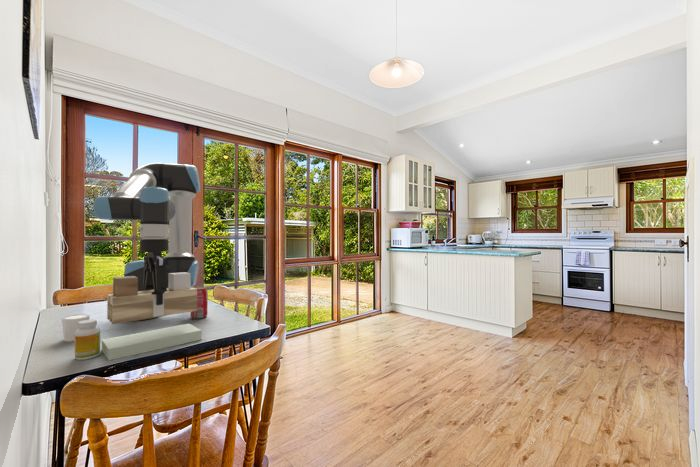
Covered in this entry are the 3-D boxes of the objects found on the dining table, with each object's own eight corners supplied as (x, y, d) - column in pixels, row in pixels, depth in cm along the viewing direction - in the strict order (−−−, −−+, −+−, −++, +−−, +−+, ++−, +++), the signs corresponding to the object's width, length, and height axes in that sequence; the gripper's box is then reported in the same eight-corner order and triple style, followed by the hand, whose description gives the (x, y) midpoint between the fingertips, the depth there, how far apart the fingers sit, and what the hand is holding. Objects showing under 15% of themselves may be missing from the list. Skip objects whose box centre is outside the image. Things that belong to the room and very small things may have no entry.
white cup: (93, 337, 105) (93, 315, 105) (66, 343, 99) (66, 320, 99) (84, 333, 108) (84, 313, 108) (57, 339, 102) (58, 317, 102)
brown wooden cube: (113, 294, 93) (113, 277, 93) (133, 292, 96) (133, 275, 96) (116, 297, 89) (116, 279, 89) (137, 294, 93) (137, 277, 93)
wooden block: (107, 318, 93) (107, 294, 93) (187, 306, 109) (188, 286, 109) (112, 324, 87) (112, 298, 87) (196, 310, 103) (197, 288, 103)
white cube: (168, 288, 103) (168, 273, 103) (185, 287, 107) (185, 272, 107) (173, 290, 100) (173, 274, 100) (190, 288, 103) (190, 273, 103)
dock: (101, 350, 93) (101, 339, 93) (189, 332, 110) (189, 323, 110) (108, 360, 86) (108, 349, 86) (201, 339, 103) (201, 330, 103)
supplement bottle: (101, 356, 88) (101, 321, 88) (75, 362, 84) (75, 325, 84) (98, 351, 92) (98, 317, 92) (73, 356, 88) (73, 321, 88)
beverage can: (201, 314, 134) (201, 286, 134) (210, 316, 131) (210, 287, 131) (187, 318, 129) (187, 288, 129) (196, 320, 126) (196, 289, 126)
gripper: (131, 238, 103) (131, 309, 103) (149, 238, 88) (149, 321, 88) (158, 238, 108) (157, 306, 108) (179, 238, 93) (179, 317, 93)
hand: (154, 313), depth 98 cm, fingers closed on wooden block, 8 cm apart
